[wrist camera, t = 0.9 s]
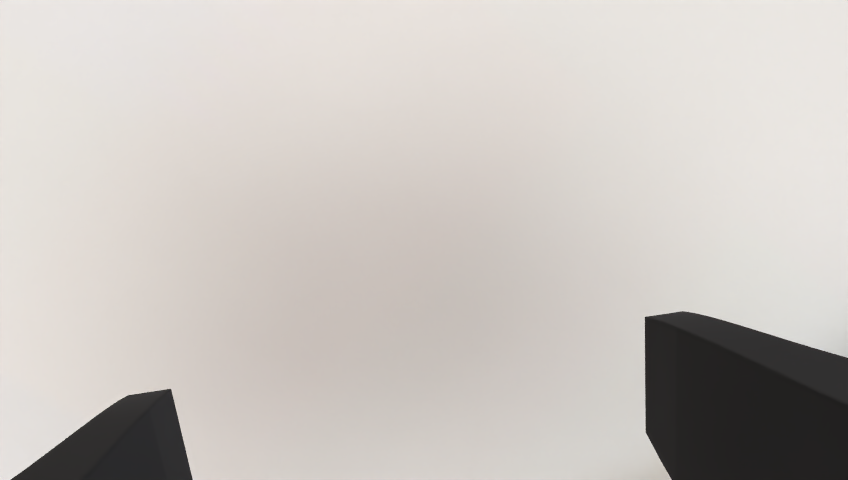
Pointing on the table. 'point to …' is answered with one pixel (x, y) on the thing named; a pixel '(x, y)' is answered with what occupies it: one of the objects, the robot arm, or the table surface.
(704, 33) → the table surface
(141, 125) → the table surface
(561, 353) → the table surface
